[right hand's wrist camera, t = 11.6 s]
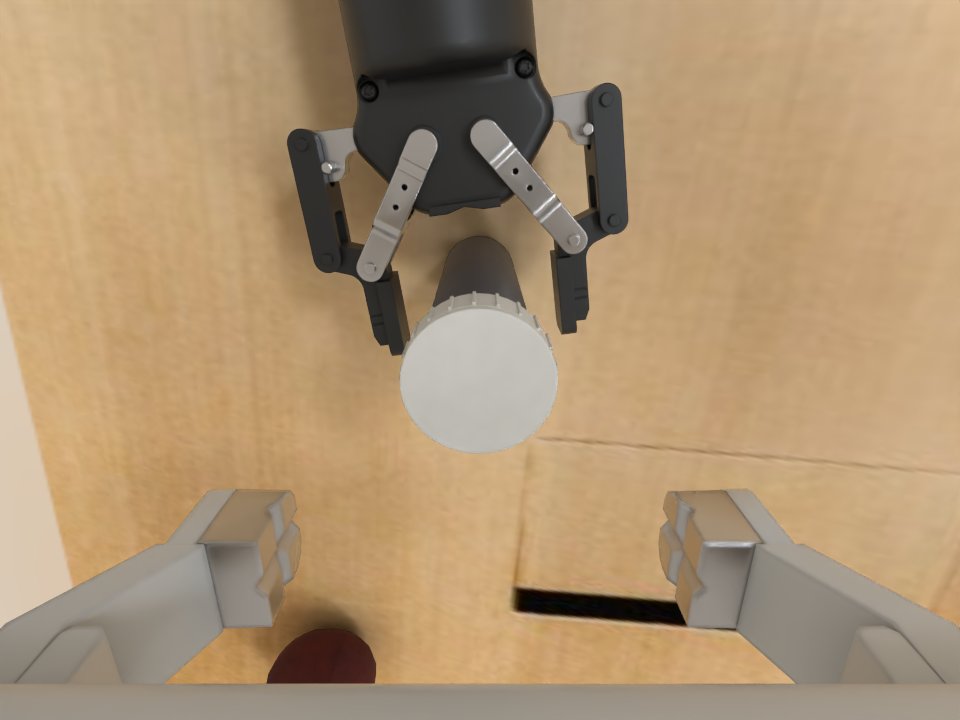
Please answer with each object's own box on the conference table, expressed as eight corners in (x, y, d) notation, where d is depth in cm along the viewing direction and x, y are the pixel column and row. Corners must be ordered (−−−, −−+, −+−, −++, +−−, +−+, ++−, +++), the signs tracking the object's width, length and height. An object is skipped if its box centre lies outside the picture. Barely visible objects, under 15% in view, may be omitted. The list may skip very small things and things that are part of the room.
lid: (545, 280, 17) (553, 295, 15) (558, 419, 19) (566, 446, 17) (392, 301, 17) (382, 317, 16) (419, 436, 19) (413, 464, 17)
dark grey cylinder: (509, 231, 31) (537, 308, 16) (516, 299, 33) (549, 429, 17) (439, 241, 31) (402, 325, 16) (450, 308, 33) (425, 443, 18)
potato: (267, 624, 42) (228, 713, 35) (357, 593, 41) (333, 679, 34) (315, 686, 44) (286, 780, 38) (400, 659, 43) (386, 751, 36)
